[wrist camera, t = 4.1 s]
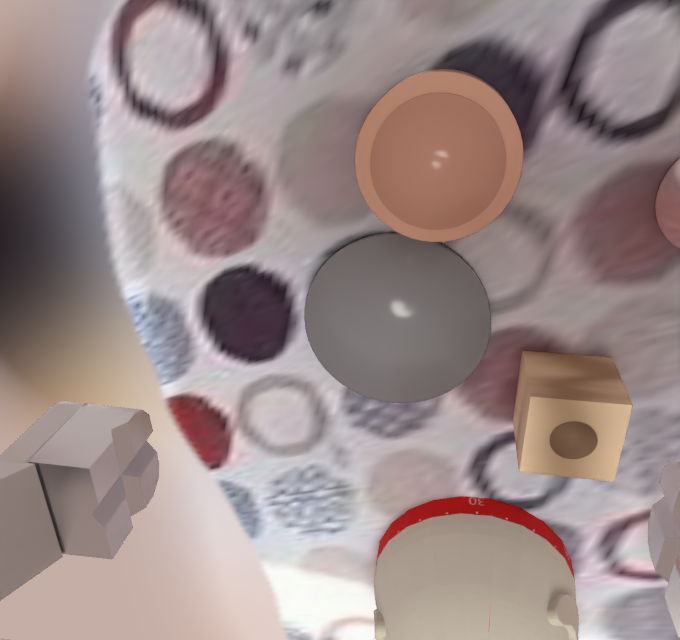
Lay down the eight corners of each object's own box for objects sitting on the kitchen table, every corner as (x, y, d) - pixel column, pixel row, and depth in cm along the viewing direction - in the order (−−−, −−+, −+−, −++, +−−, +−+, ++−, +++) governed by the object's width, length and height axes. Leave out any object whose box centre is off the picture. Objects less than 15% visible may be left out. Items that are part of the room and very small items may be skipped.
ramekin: (527, 67, 30) (534, 74, 27) (509, 226, 33) (514, 248, 30) (363, 68, 31) (352, 74, 28) (363, 221, 35) (353, 241, 31)
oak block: (611, 356, 35) (633, 406, 31) (596, 426, 38) (614, 483, 33) (522, 350, 36) (530, 397, 32) (512, 419, 38) (519, 472, 34)
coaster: (499, 236, 33) (499, 240, 33) (482, 404, 38) (482, 410, 38) (302, 228, 35) (300, 232, 35) (310, 390, 40) (308, 395, 39)
